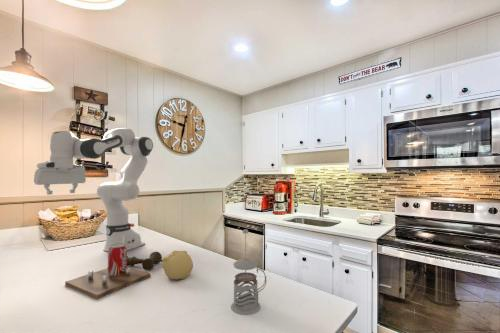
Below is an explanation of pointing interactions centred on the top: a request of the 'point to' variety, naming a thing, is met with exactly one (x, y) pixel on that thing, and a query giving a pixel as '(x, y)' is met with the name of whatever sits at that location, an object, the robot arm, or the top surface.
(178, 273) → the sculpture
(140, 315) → the top surface
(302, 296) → the top surface
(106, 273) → the peg board
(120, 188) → the robot arm
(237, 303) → the french press
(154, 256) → the kendama
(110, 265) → the soda can
